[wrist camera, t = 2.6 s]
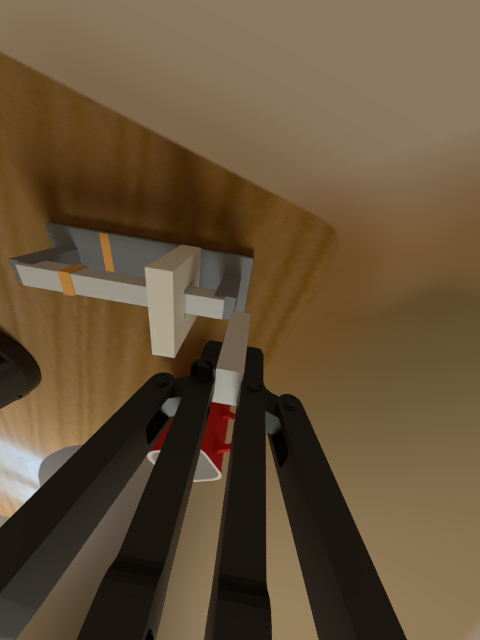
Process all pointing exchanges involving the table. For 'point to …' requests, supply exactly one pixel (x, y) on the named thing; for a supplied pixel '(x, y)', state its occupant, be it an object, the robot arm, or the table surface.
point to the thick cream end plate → (171, 298)
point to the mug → (206, 444)
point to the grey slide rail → (130, 270)
